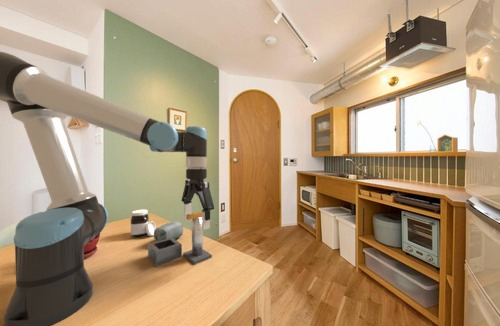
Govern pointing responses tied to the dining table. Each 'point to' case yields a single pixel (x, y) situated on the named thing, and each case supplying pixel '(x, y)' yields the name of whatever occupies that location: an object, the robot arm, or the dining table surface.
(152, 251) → the block
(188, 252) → the rest mat
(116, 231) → the dining table surface
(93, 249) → the plant pot
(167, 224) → the spool
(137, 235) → the spread jar
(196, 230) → the chuck key
